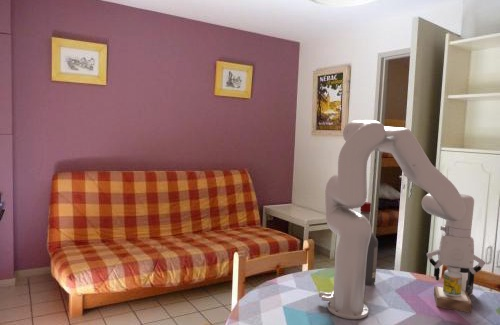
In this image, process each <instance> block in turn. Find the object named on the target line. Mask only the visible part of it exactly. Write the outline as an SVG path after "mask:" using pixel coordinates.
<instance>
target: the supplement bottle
mask: <svg viewBox="0 0 500 325" xmlns="http://www.w3.org/2000/svg"><path fill="white" fill-rule="evenodd" d="M460 269H461V268H459V267H453V266H446V270H444V273H443V286H442V287H443V292H444V293H445V294H447V295H449V296H454V297H458V296H460V295H461V286H462V274H461V273H460Z"/></svg>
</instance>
